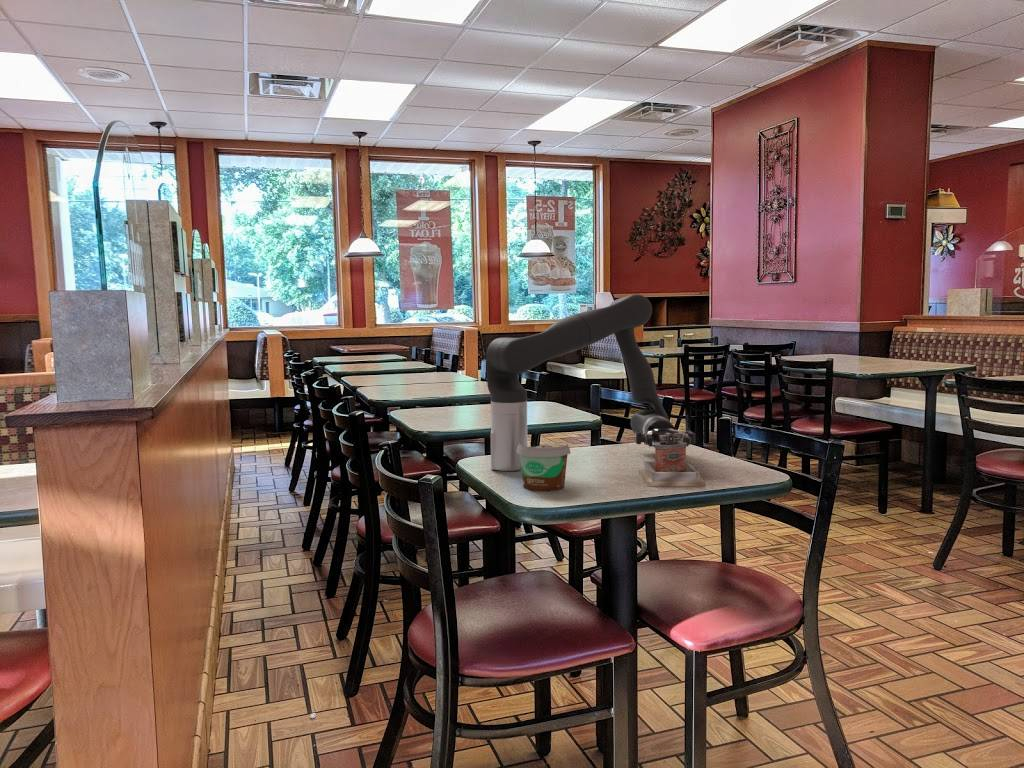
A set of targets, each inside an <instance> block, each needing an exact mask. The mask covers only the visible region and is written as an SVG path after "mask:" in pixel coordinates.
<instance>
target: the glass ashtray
mask: <svg viewBox="0 0 1024 768" xmlns="http://www.w3.org/2000/svg"><path fill="white" fill-rule="evenodd" d="M686 471H687V472H655V460H651V461H650V460H649V461H648V460H646V461H645V460H644V461H643V468H642V469H641V468H639V469H638V474H639V476H640V477H641V479H642V481H643V482H644V484H645V485H646V487H706V481H705V480H704V479H703V478H702V477H701V476H700V472H699V471H698V470H697V469H696V468H695V467H694V466H693V465H692V464H691V463H690V462H689V461H687V460H686Z"/></svg>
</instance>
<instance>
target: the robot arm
mask: <svg viewBox="0 0 1024 768" xmlns="http://www.w3.org/2000/svg"><path fill="white" fill-rule="evenodd" d="M652 314H653V306H652V303H651V302H650V300H649V299H648V298H647V297H646V296H644V295H642V294H638V293H635V294H634V293H632V294H628V295H626V296H623V297H620V298H617V299H615V300H613V301H612V302H611V303H610V305H608V306H605V307H600V308H595V309H591V310H590V309H589V310H585V311H582V312H578V313H575V314H572V315H569V316H568V315H567V316H566V317H563V318H560V319H559V320H557V321H555V322H554V323H553V324H551V325H550V326H549V327H548V328H547V329H545V330H544V331H542V332H540V333H535V334H533V335H532V334H531V335H528V336H523V337H498V338H495V339H493V340H492V341H491V342H490V343H489V345H488V347H487V349H486V356H485V363H486V364H485V366H486V384H487V385H486V386H487V390H488V391H489V392H488V393H489V395H490V424H491V425H490V427H491V430H490V470H494V471H495V470H496V471H502V472H503V471H504V472H510V471H511V472H512V471H521V462H520V454H517V447H518V445H519V442H520V445H523V446H527V447H528V391H527V389H525V388H524V386H522V384H521V382H520V380H519V376H518V375H521V374H524V373H526V372H528V371H531V370H532V369H533V368H535V367H537V366H539V365H541V364H543V363H545V362H547V361H548V360H551V359H555V358H558V357H561V356H565V355H567V354H569V353H570V354H571V353H573V352H576V351H578V350H582V349H584V348H587V347H589V346H590V345H591V346H592V345H594V344H596V343H598V342H599V341H602V340H605V339H606V338H607V337H610V336H611V335H614V336H615V340H616V341H617V345H618V347H619V350H620V354H621V356H622V359H623V361H624V366H625V369H626V374H627V377H628V378H627V379H628V382H629V388H630V393H631V397H632V402H634V403H637V404H640V403H641V404H643V403H644V404H649V405H651V406H652V408H651V409H647V410H641V411H637V412H635V413H633V415H632V416H631V418H630V427H631V430H632V432H633V434H634V441H635V444H636V445H642V443H643V444H644V445H646V446H648V447H650V448H651V447H653V448H655V444H659V443H660V439H659V435H665V434H666V433H671V434H674V433H683V434H684V439H679V442H684V443H687V447H689V445H695V444H696V433H694V432H693V431H692V430H689V429H686V430H684V432H683V431H682V430H678V429H676V428H675V426H674V425H673V423H672V422H671V421H670V419H669V416H668V414H667V412H666V410H665V408H664V406H663V404H662V401H661V400H660V398H659V395H658V390H657V386H656V381H655V376H654V371H653V369H652V366H651V364H650V363H649V361H648V359H647V358H646V357H645V355H644V354H643V352H642V350H641V349H640V346H639V344H638V342H637V339H636V336H635V329H636V328H639V327H643V326H644V325H646V323H648V321H650V319H651V316H652ZM675 440H676V439H674V441H675Z"/></svg>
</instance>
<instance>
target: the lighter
mask: <svg viewBox="0 0 1024 768" xmlns="http://www.w3.org/2000/svg"><path fill="white" fill-rule="evenodd" d="M683 433H684V432H682V433H674V434H671V433H666V434H665V435H659V439H660V443H659V444H655V447H654V449H655V450H654V451H655V452H654V459H655V460H654V461H655V472H687V471H686V461H687V447H688V446H687V443H684V442H679V439H682V440H683V439H684V434H683ZM674 439H676V440H675V441H674Z"/></svg>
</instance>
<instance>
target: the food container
mask: <svg viewBox="0 0 1024 768" xmlns="http://www.w3.org/2000/svg"><path fill="white" fill-rule="evenodd" d="M517 454H520V462H521V470H520V472H521V478H522V480H521V481H522V487H523V489H525V490H528V491H532V492H540V493H541V492H544V493H545V492H556V491H557V492H558V491H560V490H562V489H564V488H565V484H566V483H565V482H566V473H567V472H566V471H567V463H568V455H570V454H571V448H570V446H569V443H567V444H565V445H561V446H549V445H536V446H528V445H527V446H523V445H520V442H519V445H518V447H517Z"/></svg>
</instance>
